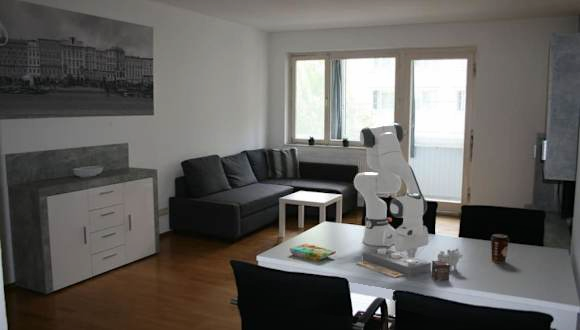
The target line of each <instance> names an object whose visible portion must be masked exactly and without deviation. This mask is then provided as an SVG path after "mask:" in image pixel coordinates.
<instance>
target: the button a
mask: <svg viewBox="0 0 580 330" xmlns="http://www.w3.org/2000/svg"><path fill="white" fill-rule="evenodd" d="M379 248H380V249H379ZM379 248H376V249H377V253H378V254H381V255H384V254H386V249H387V248H385V249H382V248H383V247H379Z"/></svg>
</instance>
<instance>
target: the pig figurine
mask: <svg viewBox="0 0 580 330" xmlns="http://www.w3.org/2000/svg"><path fill="white" fill-rule="evenodd" d="M462 258H463V254H462V253H461V252H460V250H459V248H457V247H456V248H454V249H449V248H448V249H447V252H445V251H444V250H440V251H439V252H438V254H437V261H446V262H447V263H448V264H449V265H450V272H452V268H453V270H455V271H457V270H458V268H457V264H458V263H459V261H460V259H462Z"/></svg>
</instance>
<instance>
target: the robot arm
mask: <svg viewBox="0 0 580 330" xmlns="http://www.w3.org/2000/svg"><path fill="white" fill-rule="evenodd" d="M404 135H405V134H404V130H403V126H402V125H401V124H399V123H395V122H393V123H382V124H377V125H373V126H370V127H369V126H367V127H364V128H361V130H360V133H359V141H360V144H361V145H362V146H363V147H364V148H366V164H367V166H368V167H369V168H370V169H371V170H373V171H375V172H369V171H368V172H367V171H366V172H365V171H364V172H359V173H357V174H356V175H355V177H354V179H353V186H354V188H355V190H357V191H358V193H360V194H361V195H362V198H363V199H364V202H365V208H366V209H365V210H366V211H365V212H366V215H365V218H364V220H365V222H364V223H365V226H364V231H363V237H362V243H364V244H366V245H368V246H369V245H370V246H379V247H380V246H381V247H382V246H383V247H390V246H393V245H394V249H395V252H398V253H403V252H406V253H407V255H408V258H413V257H415V258H416V253H417V251H418V248H421V247H425V246H428V245H429V232H428V228H427V226H426V225H424V220H423V216H424V215H425V214H426V212H427V209H428V204H427V200H426V199H425V197H424V195H423V194H422V191H421V187H420V186H419V183H418V180H417V177H416V175H415V171H414V170H413V167H412V166H411V165H410V164H409V163H407V161H406V159H405V157H404V155H403V151H402V147H401V144H400V143H401V142H402V141H403V139H404ZM402 180H403V181H404V183H405V187H406V189H407V191H408V192H406V193H405V194H404V195H402V196H398V197H394V198H392V199H391V201H390V203H389V213H390V214H391V216H392V217H394V218H400V219H401V218H402V219H403V220H402V224H400V225H399V226H398V227H397V228H396V229H395V228H394V227H393V226H391V224H389V223H390V222H392V221H393V219H392V217H387V210H388V206H387V202H386V201H384V200H383V199H382V198H380V197H378V196H377V194H393V193H398V192H399V191H400V190H401V188H402V185H403V184H402V183H403V182H402Z"/></svg>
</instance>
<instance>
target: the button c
mask: <svg viewBox="0 0 580 330" xmlns="http://www.w3.org/2000/svg"><path fill="white" fill-rule="evenodd" d="M406 263H409V264H415V263H416V261H414V260H406Z"/></svg>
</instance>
